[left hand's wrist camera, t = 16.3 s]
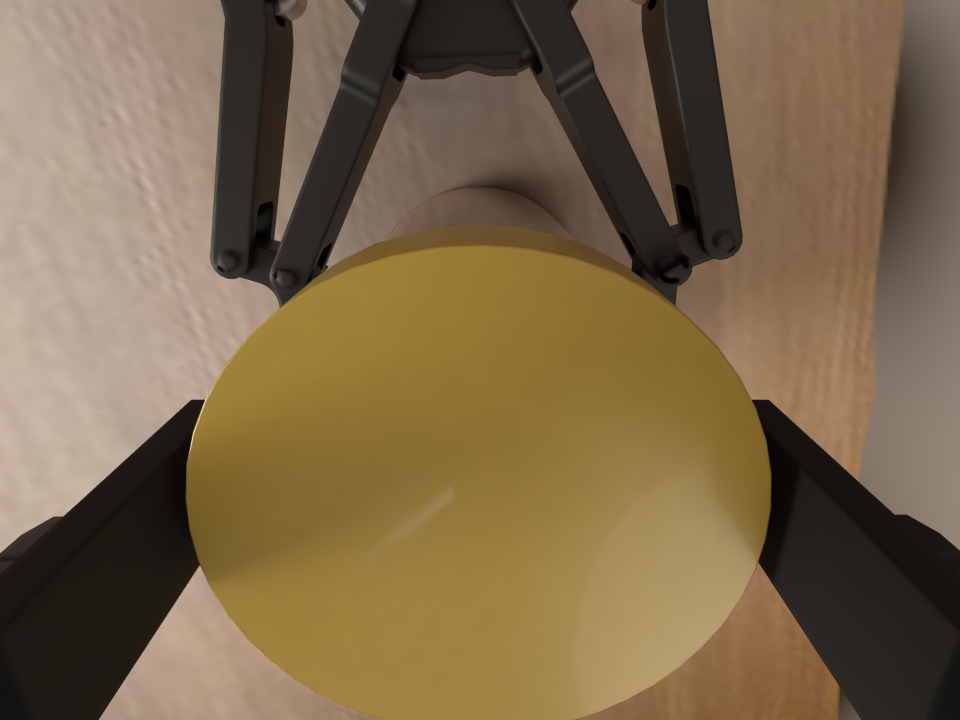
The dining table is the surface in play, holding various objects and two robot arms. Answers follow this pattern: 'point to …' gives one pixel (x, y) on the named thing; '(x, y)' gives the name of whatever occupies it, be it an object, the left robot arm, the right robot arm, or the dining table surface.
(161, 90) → the dining table surface
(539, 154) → the dining table surface
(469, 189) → the jar
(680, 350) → the lid
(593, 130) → the right robot arm
